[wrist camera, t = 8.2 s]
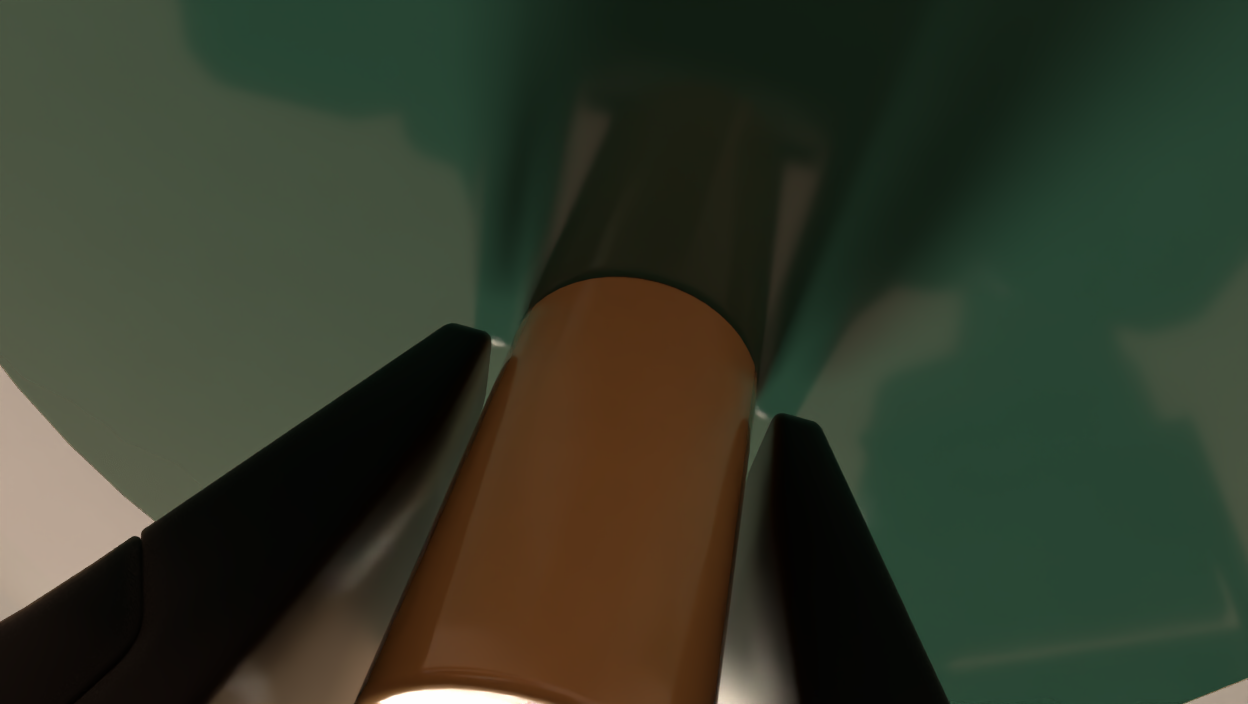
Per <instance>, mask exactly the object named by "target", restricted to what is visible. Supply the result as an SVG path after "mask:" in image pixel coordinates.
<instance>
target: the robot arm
mask: <svg viewBox="0 0 1248 704" xmlns="http://www.w3.org/2000/svg"><path fill="white" fill-rule="evenodd" d="M491 344H492V342H491V337H490V335H489V334H488V333H487V332H485V331H483V330H479V329H475V328H472V327H468V326H464V325H461V324H457V323H449V324H446V325H444V326H442V327H441V328H439V329H438V330H436V331H435V332H433V333H432V334H431V335H429V336H428V337H426V338H425V339H423V340H422V341H420V342H419V343H417V344H416V345H414V346H413V347H411V348H410V349H408V350H407V351H405V352H404V353H403V354H401V355H400V356H398V357H397V358H395V359H394V360H392V361H391V362H389V363H388V364H386V365H385V366H383V367H382V368H380V369H379V370H378V371H376V372H375V373H373V374H372V375H370V376H369V377H367V378H366V379H364V380H363V381H361V382H360V383H358V384H357V385H355V386H354V387H353V388H351V389H350V390H348V391H347V392H345V393H344V394H342V395H341V396H339V397H338V398H336V399H335V400H333V401H332V402H330V403H329V404H327V405H326V406H325V407H323V408H322V409H320V410H319V411H317V412H316V413H314V414H313V415H311V416H310V417H308V418H307V419H305V420H304V421H302V422H301V423H300V424H298V425H297V426H295V427H294V428H292V429H291V430H289V431H288V432H286V433H285V434H283V435H282V436H280V437H279V438H277V439H276V440H275V441H273V442H272V443H270V444H269V445H267V446H266V447H264V448H263V449H261V450H260V451H258V452H257V453H255V454H254V455H252V456H251V457H250V458H248V459H247V460H245V461H244V462H242V463H241V464H239V465H238V466H236V467H235V468H233V469H232V470H230V471H229V472H227V473H226V474H224V475H223V476H222V477H220V478H219V479H217V480H216V481H214V482H213V483H211V484H210V485H208V486H207V487H205V488H204V489H202V490H201V491H199V492H198V493H197V494H195V495H194V496H192V497H191V498H189V499H188V500H186V501H185V502H183V503H182V504H180V505H179V506H177V507H176V508H174V509H173V510H172V511H170V512H169V513H167V514H166V515H164V516H163V517H161V518H160V519H158V520H157V521H155V522H154V523H152V524H151V525H149V526H148V527H146V528H145V529H144V530H143V531H142V533H141V539H140V538H139V537H137V536H133V537H131V538H130V539H128V540H127V541H125V542H124V543H122V544H121V545H119V546H118V547H116V548H115V549H113V550H112V551H110V552H109V553H108V554H106V555H105V556H103V557H102V558H100V559H99V560H97V561H96V562H94V563H93V564H91V565H90V566H88V567H87V568H85V569H84V570H82V571H80V572H79V573H77V574H76V575H74V576H73V577H71V578H70V579H68V580H67V581H65V582H63V583H62V584H60V585H59V586H57V587H56V588H54V589H53V590H51V591H49V592H48V593H46V594H45V595H43V596H42V597H40V598H39V599H37V600H36V601H34V602H32V603H31V604H29V605H28V606H26V607H25V608H23V609H21V610H19V611H18V612H16V613H14V614H13V615H11V616H9V617H8V618H6V619H4V620H2V621H1V622H0V704H354V702H355V700H356V697H357V695H358V693H359V690H360V688H361V686H362V684H363V681H364V679H365V677H366V675H367V672H368V670H369V668H370V665H371V663H372V661H373V659H374V656H375V654H376V652H377V649H378V647H379V645H380V643H381V640H382V638H383V636H384V633H385V631H386V629H387V627H388V624H389V622H390V620H391V617H392V615H393V613H394V611H395V608H396V606H397V604H398V602H399V599H400V597H401V595H402V592H403V590H404V588H405V586H406V583H407V581H408V579H409V576H410V574H411V572H412V570H413V567H414V565H415V563H416V560H417V558H418V556H419V554H420V551H421V549H422V547H423V544H424V542H425V540H426V538H427V535H428V533H429V531H430V529H431V526H432V524H433V522H434V519H435V517H436V515H437V513H438V510H439V508H440V506H441V503H442V501H443V499H444V497H445V494H446V492H447V490H448V487H449V485H450V483H451V481H452V478H453V476H454V474H455V471H456V469H457V467H458V465H459V462H460V460H461V458H462V455H463V453H464V451H465V449H466V446H467V444H468V442H469V440H470V437H471V435H472V433H473V430H474V428H475V426H476V424H477V421H478V419H479V417H480V414H481V412H482V409H483V405H484V401H485V396H486V389H487V380H488V371H489V363H490V354H491ZM718 704H950V703H949V700H948V698H947V696H946V694H945V692H944V690H943V687H942V685H941V683H940V681H939V679H938V677H937V675H936V672H935V670H934V668H933V666H932V664H931V662H930V660H929V657H928V655H927V653H926V651H925V649H924V647H923V645H922V642H921V640H920V638H919V636H918V634H917V632H916V629H915V627H914V625H913V623H912V621H911V619H910V617H909V614H908V612H907V610H906V608H905V606H904V604H903V602H902V599H901V597H900V595H899V593H898V591H897V589H896V587H895V584H894V582H893V580H892V578H891V576H890V574H889V571H888V569H887V567H886V565H885V563H884V561H883V559H882V556H881V554H880V552H879V550H878V548H877V546H876V544H875V541H874V539H873V537H872V535H871V533H870V531H869V529H868V526H867V524H866V522H865V520H864V518H863V516H862V513H861V511H860V509H859V507H858V505H857V503H856V501H855V498H854V496H853V494H852V492H851V490H850V488H849V486H848V483H847V481H846V479H845V477H844V475H843V473H842V471H841V468H840V466H839V464H838V462H837V460H836V458H835V455H834V453H833V451H832V449H831V447H830V445H829V443H828V440H827V438H826V436H825V434H824V432H823V430H822V428H821V427H820V426H819V425H818V424H817V423H816V422H814V421H811V420H807V419H804V418H800V417H797V416H793V415H789V414H786V413H779V414H776V415H775V416H774V417H773V419H772V420H771V422H770V424H769V427H768V429H767V431H766V434H765V436H764V438H763V440H762V443H761V445H760V447H759V450H758V452H757V454H756V456H755V459H754V461H753V463H752V466H751V468H750V471H749V474H748V477H747V481H746V485H745V493H744V500H743V508H742V516H741V524H740V532H739V540H738V548H737V556H736V564H735V571H734V579H733V587H732V595H731V603H730V611H729V619H728V627H727V635H726V642H725V650H724V658H723V666H722V674H721V682H720V690H719V698H718Z"/></svg>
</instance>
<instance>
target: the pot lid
mask: <svg viewBox="0 0 1248 704" xmlns="http://www.w3.org/2000/svg"><path fill="white" fill-rule="evenodd" d="M449 323H457V324H461V325H464V326H468V327H472V328H475V329H479V330H483V331H485V332H487V333H488V334H489V335H490V337H491V342H492V344H491V354H490V363H489V371H488V380H487V389H486V396H485V401H484V405H483V409H482V412H481V414H480V417H479V419H478V421H477V424H476V426H475V428H474V430H473V433H472V435H471V437H470V440H469V442H468V444H467V446H466V449H465V451H464V453H463V455H462V458H461V460H460V462H459V465H458V467H457V469H456V471H455V474H454V476H453V478H452V481H451V483H450V485H449V487H448V490H447V492H446V494H445V497H444V499H443V501H442V503H441V506H440V508H439V510H438V513H437V515H436V517H435V519H434V522H433V524H432V526H431V529H430V531H429V533H428V535H427V538H426V540H425V542H424V544H423V547H422V549H421V551H420V554H419V556H418V558H417V560H416V563H415V565H414V567H413V570H412V572H411V574H410V576H409V579H408V581H407V583H406V586H405V588H404V590H403V592H402V595H401V597H400V599H399V602H398V604H397V606H396V608H395V611H394V613H393V615H392V617H391V620H390V622H389V624H388V627H387V629H386V631H385V633H384V636H383V638H382V640H381V643H380V645H379V647H378V649H377V652H376V654H375V656H374V659H373V661H372V663H371V665H370V668H369V670H368V672H367V675H366V677H365V679H364V681H363V684H362V686H361V688H360V690H359V693H358V695H357V697H356V700H355V702H354V704H718V698H719V690H720V682H721V674H722V666H723V658H724V650H725V642H726V635H727V627H728V619H729V611H730V603H731V595H732V587H733V579H734V571H735V564H736V556H737V548H738V540H739V532H740V524H741V516H742V508H743V500H744V493H745V485H746V481H747V477H748V474H749V471H750V468H751V466H752V463H753V461H754V459H755V456H756V454H757V452H758V450H759V447H760V445H761V443H762V440H763V438H764V436H765V434H766V431H767V429H768V427H769V424H770V422H771V420H772V419H773V417H774V416H775V415H776V414H779V413H786V414H789V415H793V416H797V417H800V418H804V419H807V420H811V421H814V422H816V423H817V424H818V425H819V426H820V427H821V428H822V430H823V432H824V434H825V436H826V438H827V440H828V443H829V445H830V447H831V449H832V451H833V453H834V455H835V458H836V460H837V462H838V464H839V466H840V468H841V471H842V473H843V475H844V477H845V479H846V481H847V483H848V486H849V488H850V490H851V492H852V494H853V496H854V498H855V501H856V503H857V505H858V507H859V509H860V511H861V513H862V516H863V518H864V520H865V522H866V524H867V526H868V529H869V531H870V533H871V535H872V537H873V539H874V541H875V544H876V546H877V548H878V550H879V552H880V554H881V556H882V559H883V561H884V563H885V565H886V567H887V569H888V571H889V574H890V576H891V578H892V580H893V582H894V584H895V587H896V589H897V591H898V593H899V595H900V597H901V599H902V602H903V604H904V606H905V608H906V610H907V612H908V614H909V617H910V619H911V621H912V623H913V625H914V627H915V629H916V632H917V634H918V636H919V638H920V640H921V642H922V645H923V647H924V649H925V651H926V653H927V655H928V657H929V660H930V662H931V664H932V666H933V668H934V670H935V672H936V675H937V677H938V679H939V681H940V683H941V685H942V687H943V690H944V692H945V694H946V696H947V698H948V700H949V703H950V704H1185V703H1187V702H1190V701H1193V700H1195V699H1198V698H1200V697H1203V696H1205V695H1208V694H1210V693H1213V692H1216V691H1218V690H1221V689H1223V688H1226V687H1228V686H1231V685H1234V684H1236V683H1239V682H1241V681H1244V680H1246V679H1248V0H0V365H1V367H2V368H3V369H4V371H5V372H6V373H7V375H8V376H9V377H10V379H11V380H12V381H13V382H14V384H15V385H16V386H17V387H18V389H19V390H20V391H21V392H22V393H23V394H24V395H25V396H26V397H27V398H28V400H29V401H30V402H31V403H32V404H33V405H34V406H35V407H36V408H37V410H38V411H39V412H40V413H41V414H42V415H43V416H44V417H45V418H46V419H47V421H48V422H49V423H50V424H51V425H52V426H53V427H54V428H55V429H56V430H57V432H58V433H59V434H60V435H61V436H62V437H63V438H64V439H65V440H66V442H67V443H68V444H69V445H70V446H71V447H72V448H73V449H74V450H76V451H77V452H78V453H79V454H80V455H81V456H82V457H83V458H84V459H85V460H86V461H87V462H88V463H89V464H90V465H91V466H92V467H94V468H95V469H96V470H97V471H98V472H99V473H100V474H101V475H102V476H103V477H104V478H105V479H106V480H107V481H108V482H109V483H110V484H112V485H113V486H114V487H115V488H116V489H117V490H118V491H119V492H120V493H121V494H122V495H123V496H124V497H125V498H127V499H128V500H129V501H130V502H132V503H133V504H134V505H135V506H136V507H138V508H139V509H140V510H141V511H143V512H144V513H145V514H146V515H148V516H149V517H150V518H151V519H152V520H154V521H157V520H158V519H160V518H161V517H163V516H164V515H166V514H167V513H169V512H170V511H172V510H173V509H174V508H176V507H177V506H179V505H180V504H182V503H183V502H185V501H186V500H188V499H189V498H191V497H192V496H194V495H195V494H197V493H198V492H199V491H201V490H202V489H204V488H205V487H207V486H208V485H210V484H211V483H213V482H214V481H216V480H217V479H219V478H220V477H222V476H223V475H224V474H226V473H227V472H229V471H230V470H232V469H233V468H235V467H236V466H238V465H239V464H241V463H242V462H244V461H245V460H247V459H248V458H250V457H251V456H252V455H254V454H255V453H257V452H258V451H260V450H261V449H263V448H264V447H266V446H267V445H269V444H270V443H272V442H273V441H275V440H276V439H277V438H279V437H280V436H282V435H283V434H285V433H286V432H288V431H289V430H291V429H292V428H294V427H295V426H297V425H298V424H300V423H301V422H302V421H304V420H305V419H307V418H308V417H310V416H311V415H313V414H314V413H316V412H317V411H319V410H320V409H322V408H323V407H325V406H326V405H327V404H329V403H330V402H332V401H333V400H335V399H336V398H338V397H339V396H341V395H342V394H344V393H345V392H347V391H348V390H350V389H351V388H353V387H354V386H355V385H357V384H358V383H360V382H361V381H363V380H364V379H366V378H367V377H369V376H370V375H372V374H373V373H375V372H376V371H378V370H379V369H380V368H382V367H383V366H385V365H386V364H388V363H389V362H391V361H392V360H394V359H395V358H397V357H398V356H400V355H401V354H403V353H404V352H405V351H407V350H408V349H410V348H411V347H413V346H414V345H416V344H417V343H419V342H420V341H422V340H423V339H425V338H426V337H428V336H429V335H431V334H432V333H433V332H435V331H436V330H438V329H439V328H441V327H442V326H444V325H446V324H449Z"/></svg>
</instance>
